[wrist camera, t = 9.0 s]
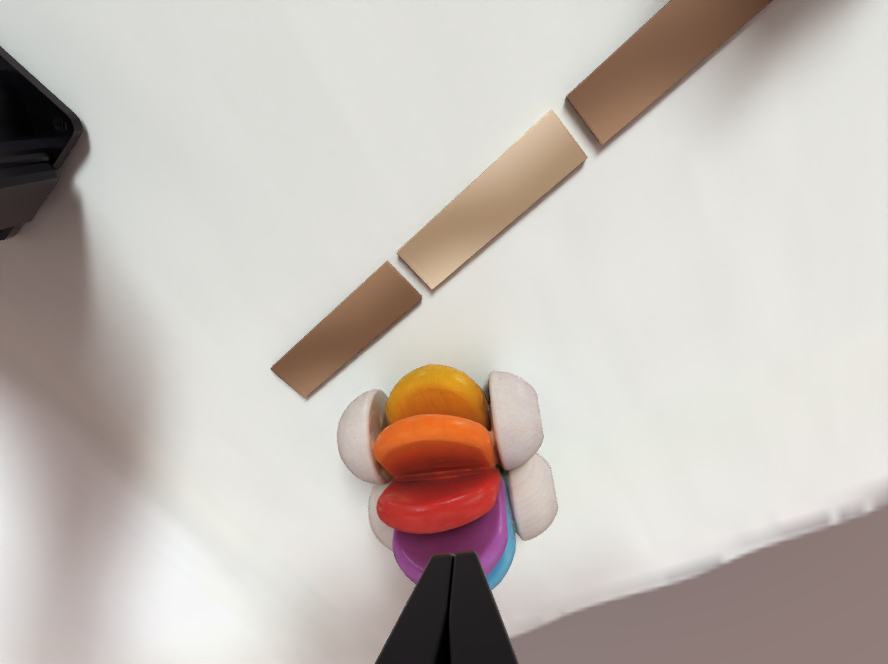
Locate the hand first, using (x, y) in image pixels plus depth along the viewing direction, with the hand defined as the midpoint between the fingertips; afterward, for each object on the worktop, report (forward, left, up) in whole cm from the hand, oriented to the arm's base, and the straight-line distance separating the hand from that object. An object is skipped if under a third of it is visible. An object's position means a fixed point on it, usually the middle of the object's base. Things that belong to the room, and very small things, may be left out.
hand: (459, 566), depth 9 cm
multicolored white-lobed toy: (+4, -5, -12) cm, 14 cm away
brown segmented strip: (-3, +3, -12) cm, 13 cm away
